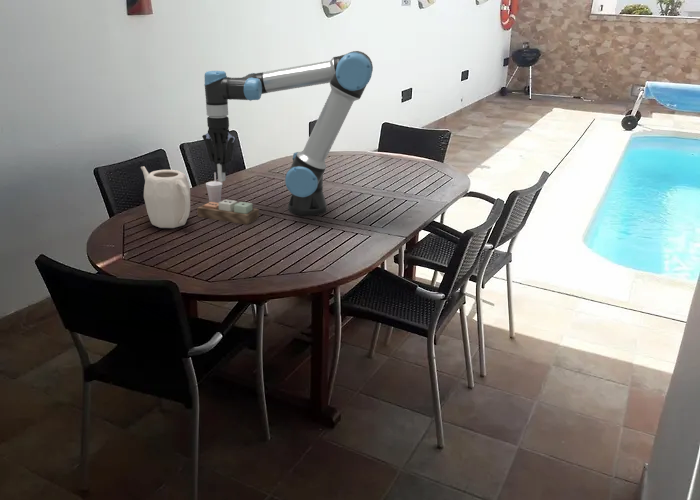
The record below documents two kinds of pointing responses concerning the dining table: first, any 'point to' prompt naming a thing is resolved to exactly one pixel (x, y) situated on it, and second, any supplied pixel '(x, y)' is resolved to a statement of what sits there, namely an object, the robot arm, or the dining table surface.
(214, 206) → the orange square block
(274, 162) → the dining table surface
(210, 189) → the smoothie
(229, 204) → the white square block
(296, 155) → the robot arm
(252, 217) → the button board
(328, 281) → the dining table surface
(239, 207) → the pale green block
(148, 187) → the watering can
